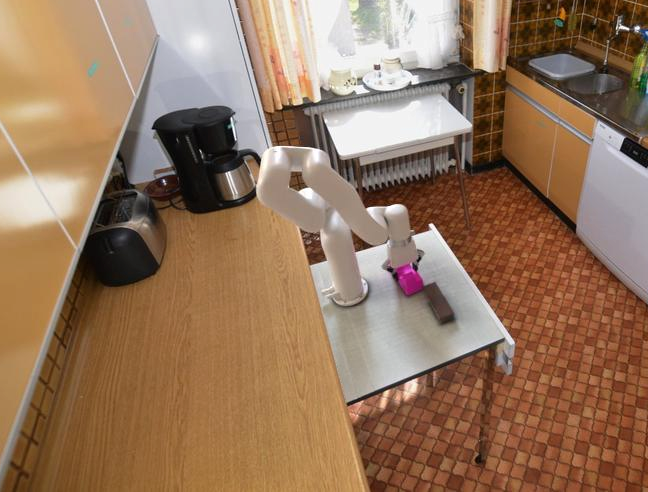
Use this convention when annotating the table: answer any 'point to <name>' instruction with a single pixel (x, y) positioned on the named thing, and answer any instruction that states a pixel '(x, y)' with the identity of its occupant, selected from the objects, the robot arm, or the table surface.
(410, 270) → the toy block
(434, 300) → the brown rectangular block
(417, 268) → the robot arm
